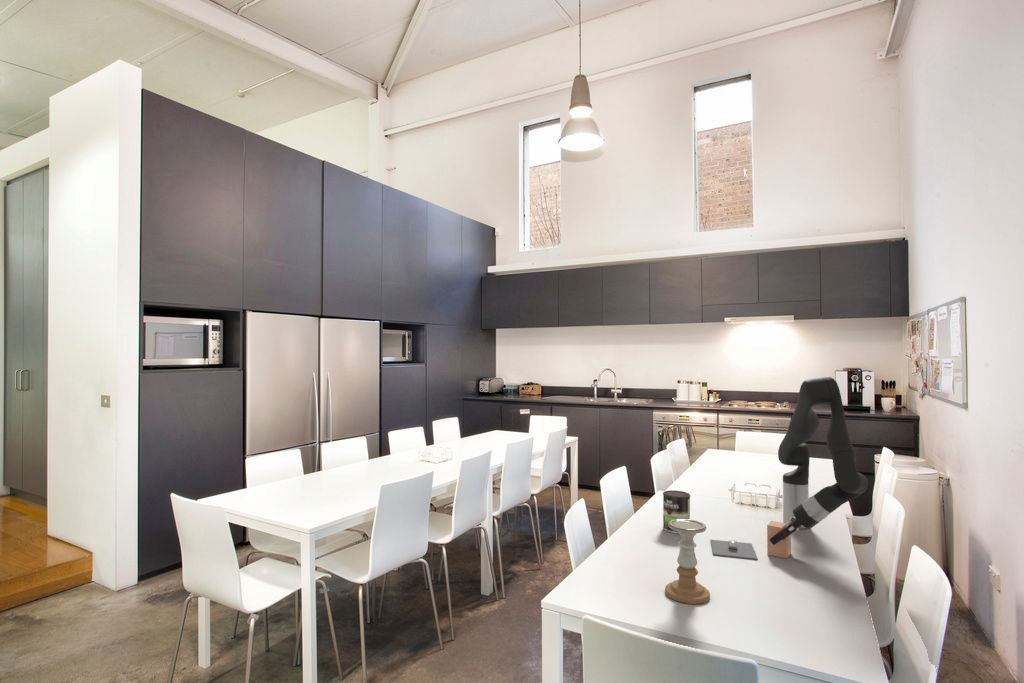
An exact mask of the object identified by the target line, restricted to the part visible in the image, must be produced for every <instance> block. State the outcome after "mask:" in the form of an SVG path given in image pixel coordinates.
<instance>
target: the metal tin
mask: <svg viewBox="0 0 1024 683" xmlns="http://www.w3.org/2000/svg"><path fill="white" fill-rule="evenodd" d="M727 541H728V548H729V549H731V550H737V542H738V541H736V540H733V539H729V540H727Z"/></svg>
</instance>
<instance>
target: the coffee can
mask: <svg viewBox="0 0 1024 683" xmlns="http://www.w3.org/2000/svg"><path fill="white" fill-rule="evenodd" d="M662 496H663V498H662V501H663V505H662V507H663V510H662V511H663V514H662V515H663V516H662V518H663V520H662V522H663V523H662V524H663V525H662V529H663V531H665V532H668V533H671V534H675V535H676V534H677V535H678V534H679V533H678V531H675V530H672V529H671V528H670V527H669V526H668V523H669V521H671V520H674V519H690V518H691V494H690V493H689V492H686V491H684V490H683V491H682V490H672V489H671V490H664V491H663V492H662ZM690 520H691V519H690ZM679 535H680V534H679Z"/></svg>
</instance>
